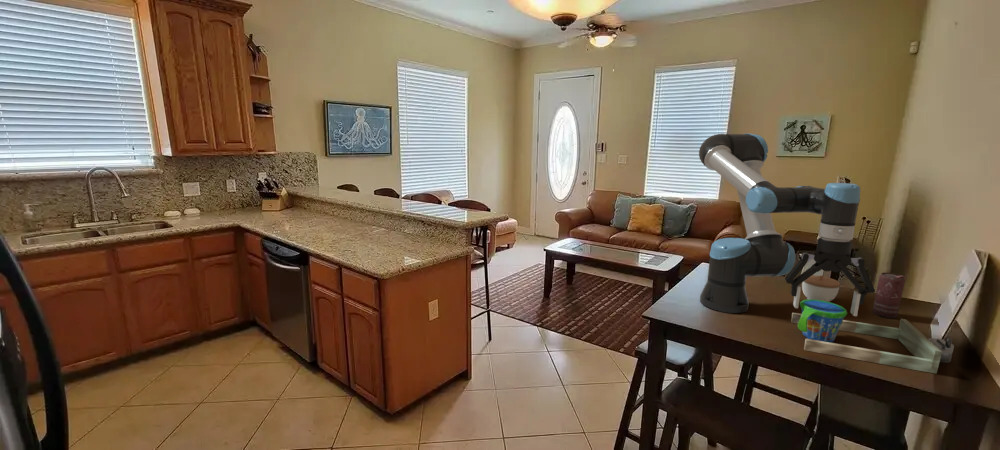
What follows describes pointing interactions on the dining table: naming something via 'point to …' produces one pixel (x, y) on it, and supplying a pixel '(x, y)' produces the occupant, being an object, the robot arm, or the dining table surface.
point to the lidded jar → (820, 288)
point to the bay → (906, 334)
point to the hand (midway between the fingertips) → (823, 310)
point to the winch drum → (944, 348)
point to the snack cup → (820, 319)
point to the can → (888, 295)
